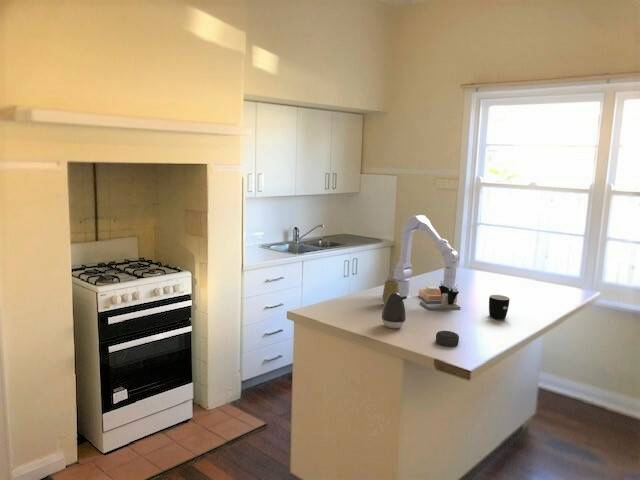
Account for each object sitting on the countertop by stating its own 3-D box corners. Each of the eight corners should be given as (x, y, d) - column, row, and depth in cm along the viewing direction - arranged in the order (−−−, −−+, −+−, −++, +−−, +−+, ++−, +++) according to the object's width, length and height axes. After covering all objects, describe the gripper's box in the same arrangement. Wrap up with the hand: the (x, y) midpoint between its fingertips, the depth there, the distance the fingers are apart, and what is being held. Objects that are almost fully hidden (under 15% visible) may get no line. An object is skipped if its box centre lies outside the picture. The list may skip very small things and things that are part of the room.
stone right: (444, 307, 262) (445, 295, 261) (440, 305, 266) (441, 293, 265) (453, 307, 262) (454, 295, 262) (449, 305, 267) (450, 293, 266)
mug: (502, 322, 244) (504, 300, 243) (483, 317, 250) (486, 296, 249) (513, 317, 253) (515, 296, 252) (495, 313, 259) (497, 292, 258)
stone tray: (429, 311, 256) (429, 307, 256) (419, 304, 267) (420, 300, 267) (460, 310, 260) (460, 306, 259) (449, 304, 271) (450, 300, 270)
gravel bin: (428, 303, 270) (429, 295, 269) (418, 296, 283) (419, 289, 282) (456, 303, 273) (457, 295, 273) (445, 296, 286) (445, 289, 285)
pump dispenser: (399, 332, 223) (402, 297, 221) (376, 327, 228) (379, 292, 226) (409, 326, 232) (411, 292, 229) (387, 321, 237) (389, 288, 235)
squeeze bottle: (400, 304, 265) (403, 269, 262) (395, 308, 258) (398, 272, 255) (384, 302, 268) (387, 267, 265) (379, 305, 261) (382, 269, 258)
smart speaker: (432, 339, 217) (433, 329, 217) (454, 339, 218) (455, 330, 217) (438, 347, 208) (439, 337, 208) (461, 347, 209) (462, 337, 208)
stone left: (428, 299, 275) (429, 288, 274) (425, 297, 279) (426, 286, 278) (436, 299, 275) (437, 288, 275) (433, 297, 280) (434, 286, 279)
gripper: (464, 278, 256) (461, 306, 258) (450, 272, 269) (448, 298, 272) (450, 279, 254) (448, 306, 256) (437, 272, 268) (435, 298, 270)
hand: (447, 302), depth 264 cm, fingers open, 7 cm apart
